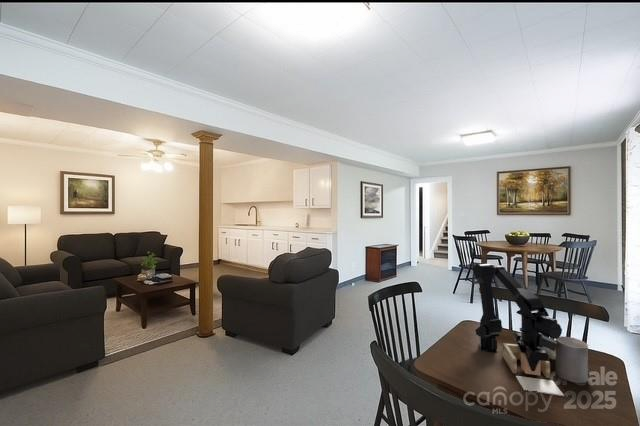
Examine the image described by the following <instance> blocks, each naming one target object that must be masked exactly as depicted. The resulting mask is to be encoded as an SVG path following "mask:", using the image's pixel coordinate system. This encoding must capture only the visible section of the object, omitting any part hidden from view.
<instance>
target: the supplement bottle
mask: <svg viewBox="0 0 640 426" xmlns="http://www.w3.org/2000/svg"><path fill="white" fill-rule="evenodd" d="M537 348H538V349H543V350H544V351H545V352H546V353H547V354H548V355H549V359H553V360H554V359H555V360H556V349H555V351H552V350H551V349H549V348H546V347H544V346H543V348H541V347H537Z"/></svg>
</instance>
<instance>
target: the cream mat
mask: <svg viewBox="0 0 640 426" xmlns="http://www.w3.org/2000/svg"><path fill="white" fill-rule="evenodd" d="M515 378H516V380H517V381H518V383H519V384H520V386H521V387H522V389H523V391H525V390H526V391H527V390H528V391H527V392H532V391H537V392H536V393H539V392H540V394H547V395H554V396H560V397H565V394H564V393H563V392H562V391H561V390H560V388H559V387H558V386H557V385H556V383H555V382H554V381H553V380H551V379H544V378H534V377H529V376H528V377H527V376H521V375H515Z"/></svg>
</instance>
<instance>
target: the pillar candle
mask: <svg viewBox="0 0 640 426" xmlns="http://www.w3.org/2000/svg"><path fill="white" fill-rule="evenodd" d="M555 342H556V343H558V344H557V346H556V358H555V373H556V375H557V376H558V377H560V378H562V379H563V380H565V381H568V382H570V383H574V384H576V383H577V384H585V383H587V382H588V380H589V375H588V374H589V357H588V356H589V353H588V352H589V344H587V342H585V341H583V340H581V339H580V338H579V339H578V338H575V337H570V336H562V335H560V337H559V338H557V339H555Z"/></svg>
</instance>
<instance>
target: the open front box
mask: <svg viewBox="0 0 640 426" xmlns="http://www.w3.org/2000/svg"><path fill="white" fill-rule="evenodd" d="M502 357H503V359H504V360H505V362H506V364H507V365H508V367H509V369H510V371H511V372H512V373H513V374H517V372H518V369H517V367H518V365H517V363H518V362H517V360H518V361H521V351H520V349H519V347H518V345H517V344H515V343H504V342H503V343H502ZM540 371H541V373H542V374H543V376H545V378H548V379H551V362H550V360H549V361H541V360H540Z"/></svg>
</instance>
